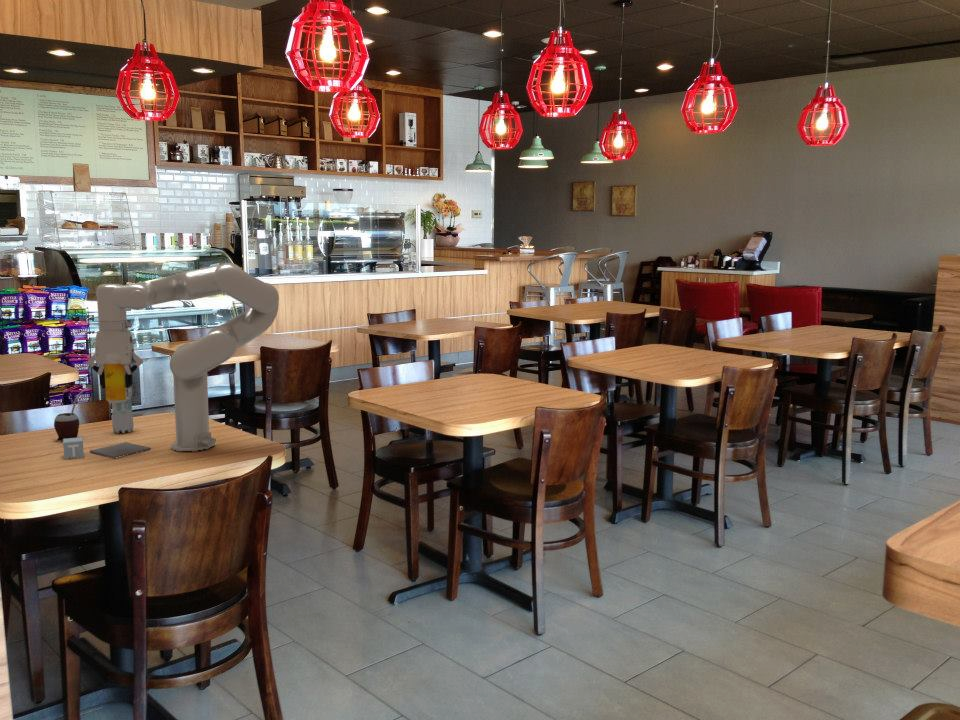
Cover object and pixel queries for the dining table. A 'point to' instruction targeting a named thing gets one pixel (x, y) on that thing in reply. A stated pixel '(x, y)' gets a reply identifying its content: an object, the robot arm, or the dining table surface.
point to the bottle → (123, 415)
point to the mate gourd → (67, 424)
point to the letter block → (73, 447)
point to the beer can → (115, 379)
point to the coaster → (120, 449)
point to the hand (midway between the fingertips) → (116, 386)
